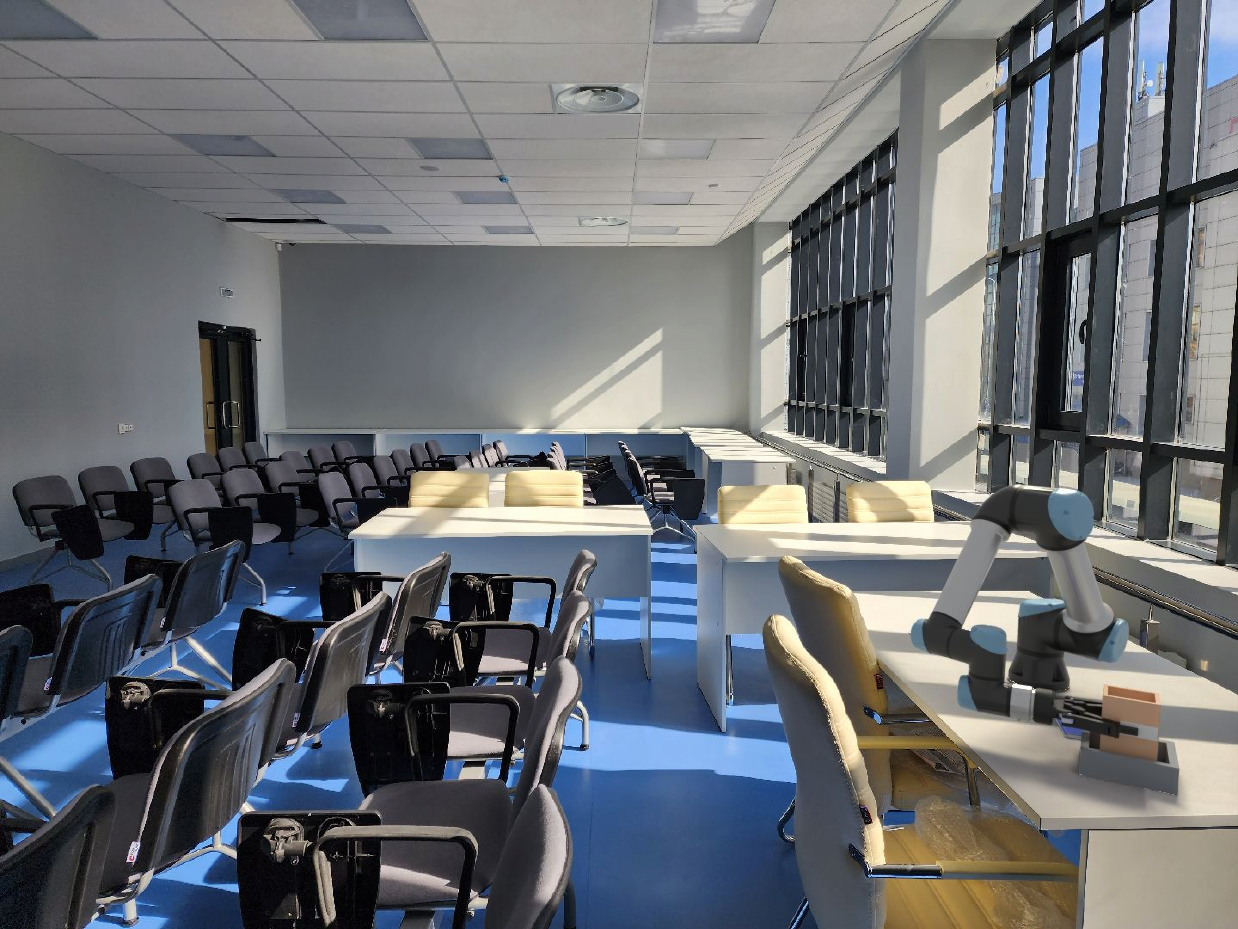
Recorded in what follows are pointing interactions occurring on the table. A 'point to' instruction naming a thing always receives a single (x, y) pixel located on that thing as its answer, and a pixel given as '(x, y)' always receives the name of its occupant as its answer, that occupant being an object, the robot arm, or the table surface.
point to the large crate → (1130, 765)
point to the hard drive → (1070, 731)
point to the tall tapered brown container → (1131, 720)
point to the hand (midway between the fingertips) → (1156, 727)
